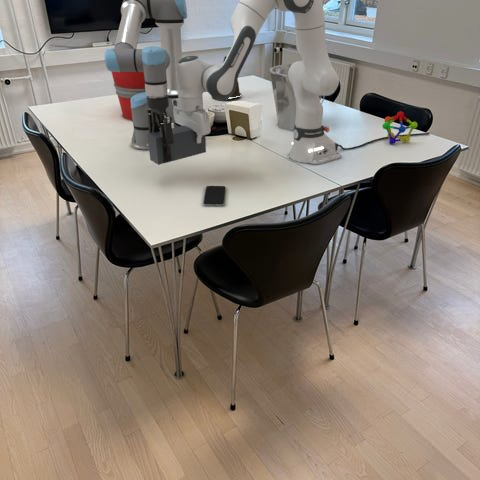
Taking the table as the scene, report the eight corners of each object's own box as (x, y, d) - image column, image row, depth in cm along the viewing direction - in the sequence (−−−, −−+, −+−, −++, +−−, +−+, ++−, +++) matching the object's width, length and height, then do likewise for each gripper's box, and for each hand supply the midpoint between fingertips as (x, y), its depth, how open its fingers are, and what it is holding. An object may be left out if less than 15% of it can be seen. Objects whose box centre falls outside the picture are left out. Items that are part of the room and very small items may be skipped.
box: (158, 164, 161) (155, 138, 156) (150, 159, 165) (147, 133, 160) (206, 152, 172) (205, 126, 167) (197, 147, 177) (196, 122, 171)
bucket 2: (296, 138, 215) (301, 78, 201) (255, 124, 234) (256, 68, 219) (335, 125, 232) (342, 70, 217) (294, 113, 251) (297, 61, 236)
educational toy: (377, 146, 209) (379, 114, 202) (384, 138, 219) (386, 107, 211) (411, 149, 202) (415, 116, 195) (417, 141, 212) (420, 109, 204)
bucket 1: (122, 105, 263) (114, 51, 248) (180, 106, 263) (177, 52, 247) (105, 123, 234) (95, 63, 218) (171, 124, 233) (166, 64, 217)
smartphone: (203, 204, 154) (206, 185, 167) (203, 205, 155) (206, 187, 167) (223, 204, 154) (225, 185, 167) (223, 206, 155) (225, 187, 167)
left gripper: (181, 99, 148) (185, 164, 161) (153, 88, 161) (159, 149, 173) (161, 103, 145) (167, 169, 157) (134, 91, 157) (141, 153, 170)
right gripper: (214, 108, 157) (215, 145, 165) (183, 96, 171) (185, 131, 178) (199, 111, 154) (201, 149, 161) (169, 99, 168) (172, 134, 175)
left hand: (163, 158), depth 165 cm, fingers closed on box, 6 cm apart
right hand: (192, 140), depth 170 cm, fingers closed on box, 6 cm apart
